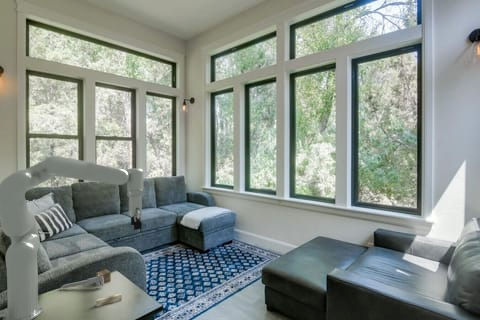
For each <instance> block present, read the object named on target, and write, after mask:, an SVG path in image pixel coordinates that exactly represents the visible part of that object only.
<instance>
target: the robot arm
mask: <svg viewBox="0 0 480 320" xmlns="http://www.w3.org/2000/svg"><path fill="white" fill-rule="evenodd" d="M55 177H61V178H67V179H68V178H69V179H75V180H80V181H81V180H82V181H88V182H97V183H103V184H109V185H110V184H111V185H117V186H118V185H119V186H122V185H125V184H126V183H127V185H126V186H127V193H126V194H127V197H128V216H130V225H131V226H133V230H134V231H135V230H136V231H137V230H141V229H142V219H141V218H142V217H141V216H142V213H143V212H142V211H143V210H142V209H143V204H142V201H143V200H142V197H143V196H144V194H145V193H144V190H145V189H144V170H143V168H139V167H138V168H135V167H134V168H133V167H132V168H118V167H114V166H113V167H112V166H108V165H103V164H102V165H101V164H99V163H94V162H91V161H88V160H81V159H73V158H70V157H65V156H64V157H63V156H59V155H58V156H57V155H51V156H47V157H46V158H44V160H42V161H40V162H38V163H35V164H34V165H31V166H29V167H27V168H25V169H22V170H17V171H15V172H12V173H11V174H10V175H8V176H7V177H5V178H4V179H3V180H2V181H1V182H0V221H1V228H2V232H3V233H4V234H5V235H6V236H7V237H9V238H10V243H11V244H10V245H9V246H8V248H7V250H6V253H5V266H6V279H7V281H6V282H7V284H6V285H7V287H6V288H7V289H6V291H7V308H6V307H5V308H4V309H1V310H0V319H1V318H2V320H33V319H36V318H37V317H39V315H41V314H42V312H43V310H44V308H43V305H41V304H39V278H38V277H39V275H38V251H39V248H40V245H41V240H40V235H39V230H38V225H37V221H36V217H35V215H34V214H33V213H32V212H31V211H29V209H28V203H27V200H26V192H28V191H30V190H31V189H34V188H35V187H37V186H39V185H41V184H43V183H45V182H46V181H49V180H50V179H53V178H55Z"/></svg>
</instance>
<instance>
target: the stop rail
mask: <svg viewBox="0 0 480 320" xmlns="http://www.w3.org/2000/svg"><path fill="white" fill-rule="evenodd" d="M122 299H123V297H122V293H121V292H120V293H117V294H112V295H110V296H104V297H102V298H97V299H96V307H101V306H104V305H108V304H112V303H116V302H120V301H122Z"/></svg>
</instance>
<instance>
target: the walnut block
mask: <svg viewBox="0 0 480 320" xmlns="http://www.w3.org/2000/svg"><path fill="white" fill-rule="evenodd" d="M100 274H101V276H103V279H104V285H105V284H107V283H110V282H111V277H112V276H111V274H112V273H111V271H109V270H108V269H103V270H101V271H96V276H95V277H98V276H97V275H100ZM99 283H100V286H102V285H101V281H99Z"/></svg>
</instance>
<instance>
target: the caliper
mask: <svg viewBox="0 0 480 320" xmlns="http://www.w3.org/2000/svg"><path fill="white" fill-rule="evenodd" d="M97 276H98V277H96V276H94V277H91V278H88V279H85V280H81V281H75V282H71V283H66V284H63V285H61V286H60V289H68V288H73V287H76V286H81V285H87V284H88V285H93V284H96V286H97V287H98V288H100V287H104V286H105V284H104V279H103V276H101V274H100V275H97ZM99 281H101V285H100V283H99Z"/></svg>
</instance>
